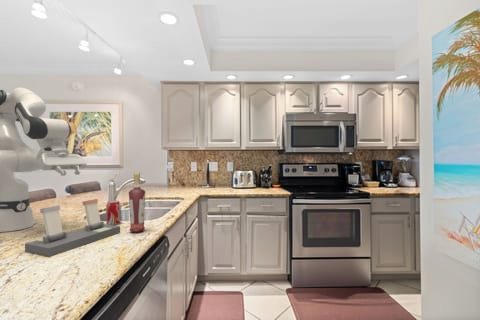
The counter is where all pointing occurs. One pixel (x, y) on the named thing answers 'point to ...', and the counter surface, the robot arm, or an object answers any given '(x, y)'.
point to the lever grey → (52, 222)
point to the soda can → (113, 212)
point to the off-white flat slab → (92, 213)
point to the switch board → (70, 240)
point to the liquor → (137, 206)
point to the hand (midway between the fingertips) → (71, 174)
